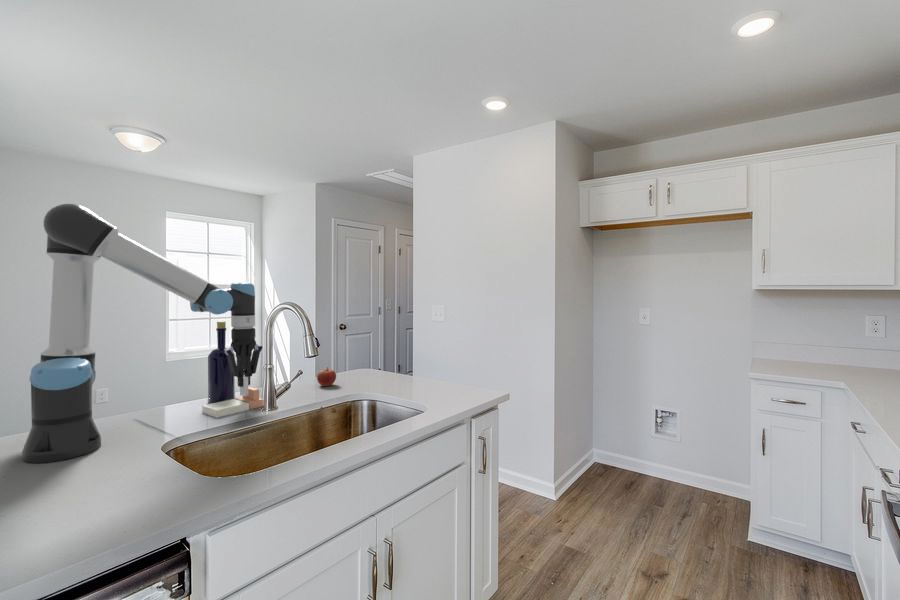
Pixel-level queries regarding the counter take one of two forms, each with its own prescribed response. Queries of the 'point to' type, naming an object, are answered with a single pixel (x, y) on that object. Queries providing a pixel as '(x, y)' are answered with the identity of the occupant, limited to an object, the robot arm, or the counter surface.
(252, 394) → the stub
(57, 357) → the robot arm
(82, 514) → the counter surface
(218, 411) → the cream rectangular slab
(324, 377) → the apple
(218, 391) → the bottle
